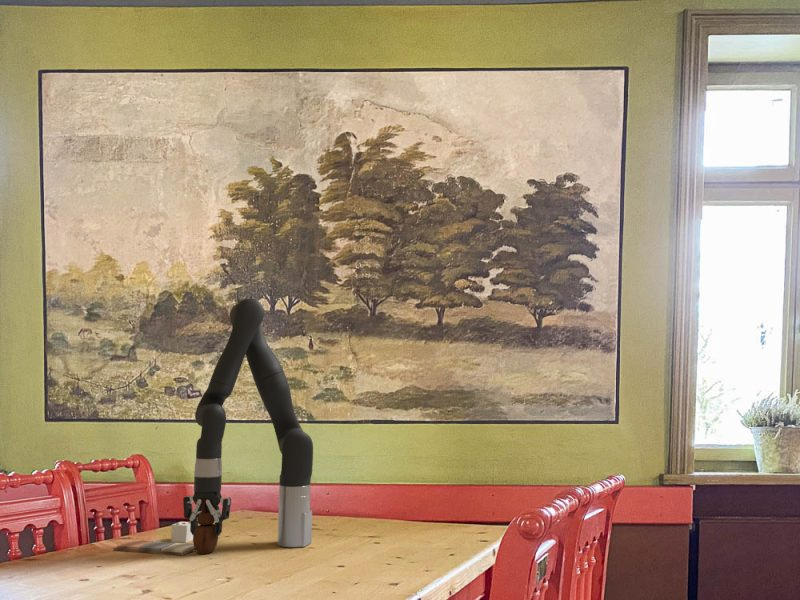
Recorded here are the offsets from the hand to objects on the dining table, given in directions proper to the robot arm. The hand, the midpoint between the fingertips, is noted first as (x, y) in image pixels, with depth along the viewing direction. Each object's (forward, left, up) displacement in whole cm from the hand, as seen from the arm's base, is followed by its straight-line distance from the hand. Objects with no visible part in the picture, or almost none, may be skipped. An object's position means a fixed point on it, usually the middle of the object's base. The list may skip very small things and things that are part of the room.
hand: (205, 534), depth 192 cm
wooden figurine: (0, 0, -5) cm, 5 cm away
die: (+14, -12, -5) cm, 19 cm away
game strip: (+15, 0, -5) cm, 16 cm away
